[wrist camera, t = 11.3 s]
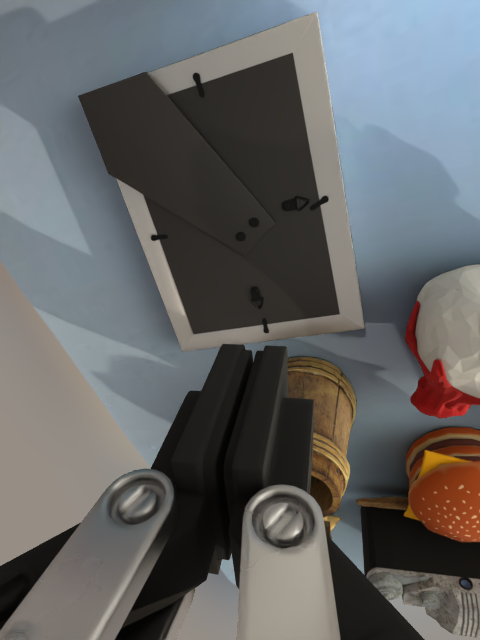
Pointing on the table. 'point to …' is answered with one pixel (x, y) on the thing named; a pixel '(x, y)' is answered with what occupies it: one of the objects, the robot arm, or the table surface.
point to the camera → (423, 568)
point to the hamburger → (446, 482)
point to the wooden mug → (326, 427)
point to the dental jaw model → (447, 343)
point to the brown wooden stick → (385, 502)
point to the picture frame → (237, 188)
